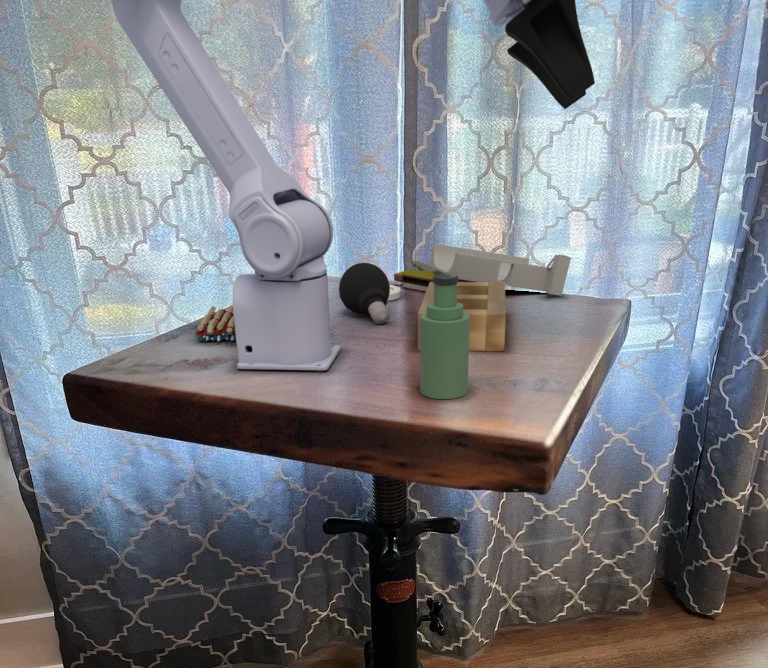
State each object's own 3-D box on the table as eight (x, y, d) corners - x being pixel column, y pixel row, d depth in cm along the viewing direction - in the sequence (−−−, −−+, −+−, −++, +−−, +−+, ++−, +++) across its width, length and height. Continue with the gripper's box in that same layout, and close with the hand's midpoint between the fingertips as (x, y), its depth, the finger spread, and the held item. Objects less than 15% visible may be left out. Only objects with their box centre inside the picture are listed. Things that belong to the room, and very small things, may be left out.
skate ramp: (521, 279, 118) (529, 244, 116) (561, 296, 106) (571, 257, 104) (428, 265, 113) (435, 229, 111) (460, 281, 102) (468, 240, 100)
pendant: (411, 290, 108) (411, 296, 109) (368, 278, 116) (368, 284, 117) (368, 298, 105) (368, 304, 105) (327, 285, 113) (327, 290, 113)
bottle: (418, 398, 71) (418, 280, 66) (422, 383, 75) (422, 271, 70) (466, 400, 70) (470, 281, 66) (468, 384, 74) (471, 271, 70)
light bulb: (368, 294, 91) (340, 250, 97) (352, 340, 95) (326, 295, 101) (415, 299, 94) (385, 256, 100) (398, 343, 98) (370, 299, 104)
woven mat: (191, 326, 88) (194, 344, 89) (286, 323, 88) (287, 340, 89) (206, 305, 97) (209, 321, 98) (292, 302, 98) (293, 318, 99)
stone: (436, 286, 114) (467, 285, 116) (437, 272, 113) (468, 271, 115) (406, 270, 125) (435, 270, 126) (406, 257, 124) (436, 257, 125)
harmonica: (408, 267, 116) (409, 281, 117) (393, 272, 115) (394, 286, 116) (480, 279, 106) (480, 294, 107) (464, 285, 105) (465, 299, 106)
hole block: (417, 349, 85) (417, 313, 83) (429, 313, 100) (429, 281, 98) (504, 351, 84) (505, 314, 82) (503, 314, 99) (504, 282, 97)
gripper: (541, -136, 53) (636, 50, 57) (535, -72, 67) (612, 76, 70) (454, -63, 56) (550, 112, 59) (465, -15, 69) (543, 126, 72)
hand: (579, 97), depth 65 cm, fingers open, 7 cm apart
